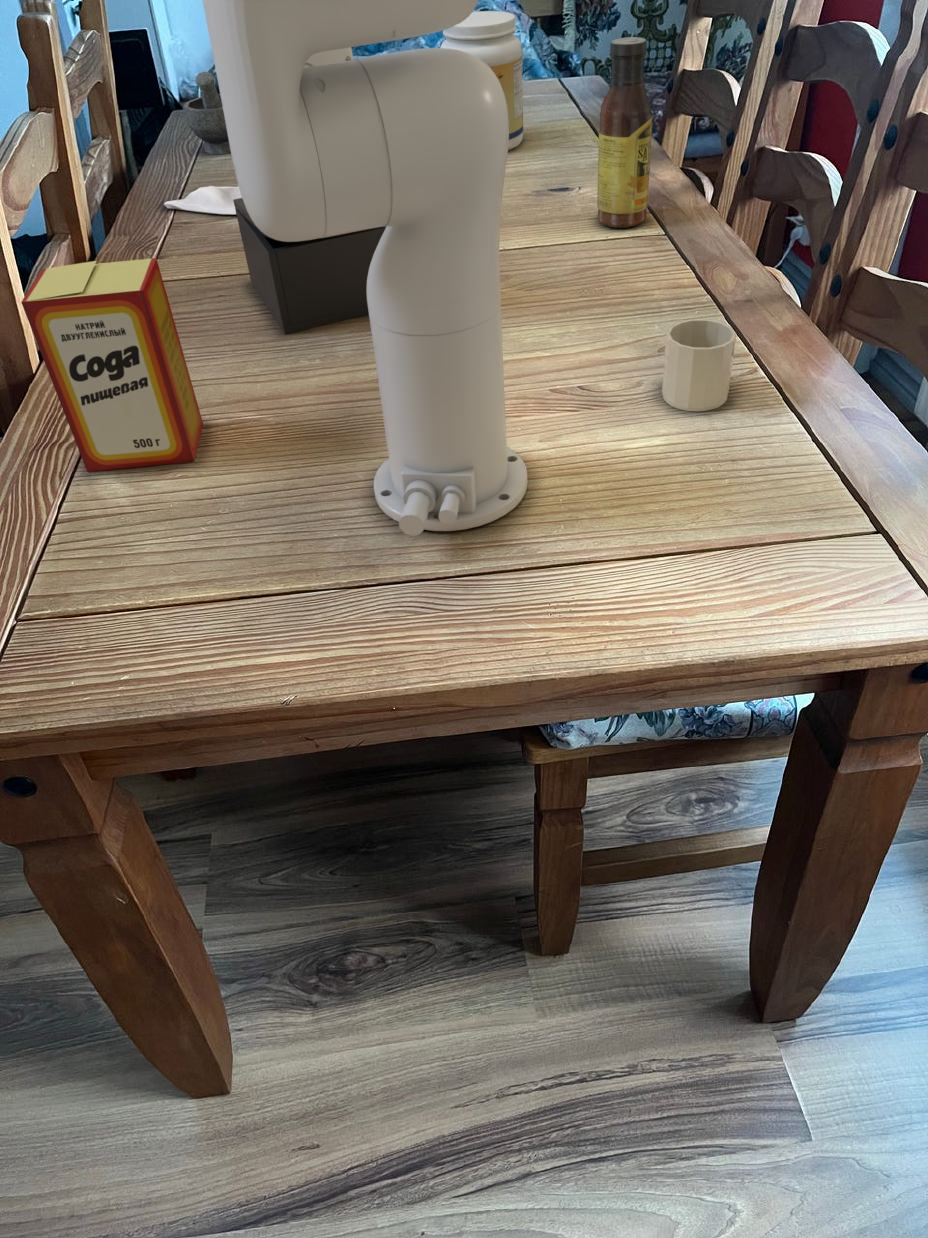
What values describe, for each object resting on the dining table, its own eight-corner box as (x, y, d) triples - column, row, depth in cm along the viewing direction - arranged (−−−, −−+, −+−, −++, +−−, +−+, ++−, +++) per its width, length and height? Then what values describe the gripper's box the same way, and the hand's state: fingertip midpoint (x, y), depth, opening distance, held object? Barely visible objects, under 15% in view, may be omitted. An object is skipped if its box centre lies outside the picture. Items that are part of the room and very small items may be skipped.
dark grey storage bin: (403, 306, 107) (394, 225, 101) (284, 334, 103) (268, 252, 97) (359, 259, 118) (349, 183, 112) (251, 283, 114) (234, 207, 108)
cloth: (152, 223, 132) (147, 206, 131) (174, 190, 142) (169, 173, 141) (340, 210, 131) (338, 192, 130) (348, 177, 141) (346, 160, 140)
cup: (729, 412, 85) (738, 349, 81) (661, 410, 86) (666, 348, 82) (726, 380, 89) (734, 318, 85) (661, 379, 90) (666, 318, 86)
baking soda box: (203, 423, 90) (155, 253, 79) (194, 461, 85) (141, 285, 74) (101, 433, 90) (40, 264, 79) (87, 471, 85) (19, 297, 74)
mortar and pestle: (197, 142, 160) (178, 61, 152) (254, 136, 161) (238, 55, 153) (191, 162, 152) (171, 78, 144) (251, 156, 152) (234, 71, 144)
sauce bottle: (645, 230, 118) (655, 46, 105) (594, 230, 119) (598, 47, 106) (648, 211, 123) (658, 32, 110) (599, 211, 124) (603, 34, 111)
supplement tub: (435, 156, 146) (424, 27, 135) (458, 132, 155) (450, 8, 143) (513, 157, 143) (509, 26, 132) (532, 133, 151) (530, 7, 140)
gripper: (201, 14, 82) (248, 232, 94) (389, -14, 86) (412, 198, 98) (186, 4, 87) (232, 211, 99) (364, -22, 92) (388, 179, 103)
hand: (321, 202), depth 98 cm, fingers closed on compartment lid, 5 cm apart
